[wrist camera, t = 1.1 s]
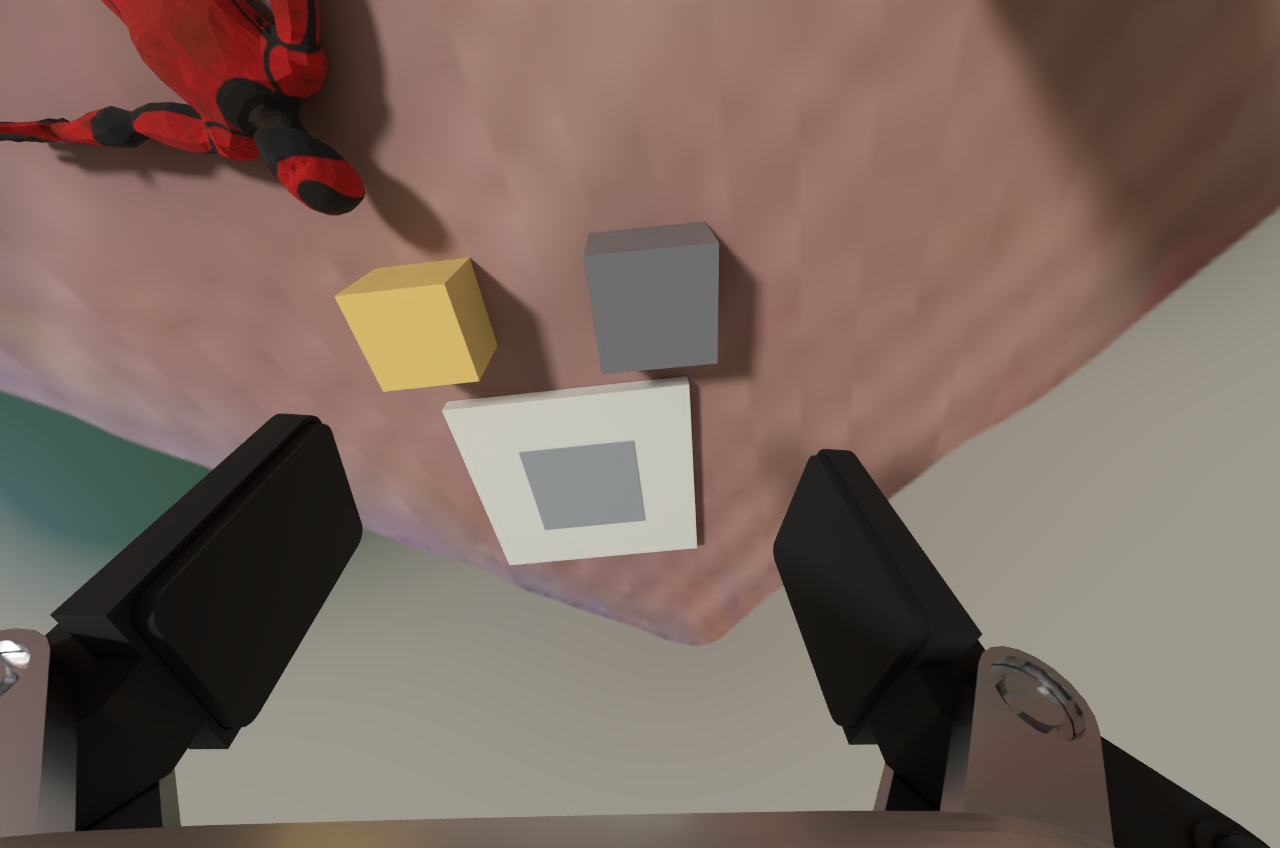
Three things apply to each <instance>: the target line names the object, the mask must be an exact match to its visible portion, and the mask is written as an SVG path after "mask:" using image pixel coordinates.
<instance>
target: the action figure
mask: <svg viewBox="0 0 1280 848" xmlns="http://www.w3.org/2000/svg"><path fill="white" fill-rule="evenodd" d="M269 1H270V4H271V8H272V11H273V14H274V18H275V24H276V25H275V24H273V23H271V22H269V21H268V20H266V19H264V18H263V17H262V16H261V15H260V14H259V13H258V12H257V11H256V10H254V9H253V8H252V7H251V6H250V5H249V4H248V3H247V2H246V1H245V0H102V2H103V3H104V4H105V5H106V6H107V7H108V8H109V9H110V10H112V11H113V12H114V13H115V14H116V15H117V16H118V17H119V18H120V19H121V20H122V21H123V22H124V23H125V24H126V25H127V27H128V29H129V32H130V37H131V40H132V42H133V43H134V45H135V47H136V49H137V51H138V52H139V54H140V56H141V58H142V60H143V61H144V62H145V63H146V64H147V66H148V67H149V68H150V69H151V70H152V71H153V72H154V73H155V74H156V75H157V76H158V77H159V79H160V80H162V81H163V82H164V83H165V84H166V85H167V86H169V87H170V88H171V89H172V90H173V91H174V92H176V93H177V94H178V95H179V96H180V97H181V98H183V99H184V100H185V101H186V102H187V103H188V104H189V105H187V104H180V103H174V102H165V103H148V104H146V105H144V106H142V107H139V108H137V109H135V110H134V111H131V112H130V111H126V110H123V109H120V108H117V107H113V106H110V107H106V108H103V109H99V110H96V111H92V112H88V113H86V114H85V115H83V116H82V117H80V118H78V119H76V120H74V121H72V122H69V121H68V120H66V119H64V118H60V119H49V118H48V119H44V120H40V121H34V122H20V123H16V122H0V141H4V140H9V141H15V142H23V141H29V142H41V143H44V142H57V141H64V142H75V143H85V144H91V145H97V146H107V147H137V146H139V145H140V144H142V143H143V142H144V141H146V140H147V139H149V138H152V139H154V140H156V141H159V142H161V143H163V144H165V145H167V146H171V147H174V148H178V149H182V150H185V151H189V152H194V153H207V154H219V155H221V156H224V157H227V158H229V159H232V160H240V161H244V160H254V159H255V158H256V157H258V156H259V155H260V154H261V155H262V157H263V158H264V160H265V162H266V164H267V166H268V168H269V169H270V171H271V172H272V174H273V175H274V176H275V177H276V178H277V179H278V180H279V181H280V182H281V183H282V184H283V185H284V186H285V187H286V188H287V189H288V191H289V192H290V193H291V194H292V195H293V196H295V197H296V198H297V199H298V200H300V201H301V202H302V203H304V204H305V205H306V206H307V207H308V208H310V209H313V210H315V211H318V212H321V213H324V214H327V215H341V214H345V213H348V212H350V211H352V210H353V209H354V208H356V207H357V206H358V205H359V203H360V202H361V201H362V200H363V199H364V196H365V188H364V186H363V183H362V180H361V177H360V175H359V174H358V173H357V171H356V170H355V169H354V168H353V167H352V166H351V165H350V164H349V163H348V162H347V161H346V160H345V159H344V158H343V157H342V156H341V155H339V154H338V153H337V152H336V151H335V150H333V149H332V148H330V147H329V146H327V145H326V144H324V143H323V142H321V141H320V140H318V139H316V138H313V137H312V136H311V135H310V134H309V133H308V132H307V131H306V129H305V128H304V127H303V125H302V123H301V121H300V120H299V113H298V112H299V109H300V106H301V104H302V102H303V100H304V98H306V97H308V96H310V95H311V94H313V93H315V92H317V91H318V90H320V89H321V87H322V84H323V82H324V79H325V76H326V71H327V67H328V64H327V60H326V55H325V52H324V50H323V47H322V45H321V43H320V25H319V7H318V1H317V0H269Z"/></svg>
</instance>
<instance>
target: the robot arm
mask: <svg viewBox="0 0 1280 848" xmlns="http://www.w3.org/2000/svg"><path fill="white" fill-rule="evenodd" d="M361 537H362V523H361V520H360V517H359V514H358V511H357V508H356V504H355V501H354V498H353V495H352V492H351V489H350V486H349V483H348V480H347V477H346V474H345V470H344V467H343V464H342V461H341V458H340V455H339V452H338V449H337V446H336V443H335V440H334V437H333V433H332V431H331V429H330V427H329V426H328V425H326V424H322V422H321V420H320V419H319V418H318V417H316V416H312V415H297V414H276V415H275V416H273V417H272V418H271V419H269V420H268V421H267V422H266V423H265V424H264V425H263V426H262V427H260V428H259V429H258V430H257V431H256V432H255V433H254V434H253V435H251V436H250V437H249V438H248V439H247V440H246V441H245V442H244V443H243V444H241V445H240V446H239V447H238V448H237V449H236V450H235V451H234V452H232V453H231V454H230V455H229V456H228V457H227V458H226V459H225V460H223V461H222V462H221V463H220V464H219V465H218V466H217V467H216V468H214V469H213V470H212V471H211V472H210V473H209V474H208V475H207V476H205V477H204V478H203V479H202V480H201V481H200V482H199V483H198V484H196V485H195V486H194V487H193V488H192V489H191V490H190V491H189V492H188V493H186V494H185V495H184V496H183V497H182V498H181V499H180V500H179V501H178V502H176V503H175V504H174V505H173V506H172V507H171V508H170V509H168V510H167V511H166V512H165V513H164V514H163V515H162V516H161V517H160V518H158V519H157V520H156V521H155V522H154V523H153V524H152V525H151V526H149V527H148V528H147V529H146V530H145V531H144V532H143V533H142V534H140V535H139V536H138V537H137V538H136V539H135V540H134V541H132V542H131V543H130V544H129V545H128V546H127V547H126V548H125V549H123V550H122V551H121V552H120V553H119V554H118V555H117V556H116V557H115V558H113V559H112V560H111V561H110V562H109V563H108V564H107V565H106V566H104V568H102V569H101V570H100V571H99V572H98V573H97V574H96V575H94V576H93V577H92V578H91V579H90V580H89V581H88V582H86V583H85V584H84V585H83V586H82V587H81V588H80V589H79V590H78V591H76V592H75V593H74V594H73V595H72V596H71V597H70V598H68V599H67V600H66V601H65V602H64V603H63V604H62V605H61V606H60V607H58V608H57V609H56V610H55V611H54V612H53V613H52V614H51V616H52V617H53V618H54V619H55V620H56V621H57V622H58V624H57V625H56V626H55V627H54V628H53V629H52V630H51V631H50V632H49V633H47V634H46V635H45V636H44V635H42V634H40V633H39V632H37V631H36V630H28V629H17V628H15V629H8V630H1V631H0V848H1270V847H1269V846H1268V845H1267V844H1266V843H1264V842H1263V841H1262V840H1260V839H1259V838H1258V837H1256V836H1255V835H1253V834H1252V833H1251V832H1249V831H1248V830H1246V829H1245V828H1244V827H1242V826H1241V825H1240V824H1238V823H1236V822H1235V821H1233V820H1232V819H1230V818H1229V817H1227V816H1225V815H1224V814H1222V813H1220V812H1219V811H1218V810H1216V809H1214V808H1213V807H1211V806H1210V805H1208V804H1207V803H1205V802H1203V801H1202V800H1200V799H1199V798H1197V797H1196V796H1194V795H1192V794H1191V793H1189V792H1188V791H1186V790H1185V789H1183V788H1181V787H1180V786H1178V785H1177V784H1175V783H1174V782H1172V781H1170V780H1169V779H1167V778H1165V777H1164V776H1162V775H1161V774H1159V773H1158V772H1156V771H1155V770H1153V769H1152V768H1150V767H1148V766H1147V765H1145V764H1144V763H1142V762H1141V761H1139V760H1137V759H1136V758H1134V757H1133V756H1131V755H1130V754H1128V753H1126V752H1125V751H1123V750H1122V749H1120V748H1119V747H1117V746H1115V745H1114V744H1112V743H1111V742H1109V741H1108V740H1106V739H1104V738H1103V737H1101V736H1100V731H1099V728H1098V724H1097V721H1096V718H1095V716H1094V714H1093V712H1092V711H1091V709H1090V708H1089V706H1088V704H1087V702H1086V701H1085V699H1084V698H1083V697H1082V696H1081V695H1080V694H1079V693H1078V691H1077V690H1076V689H1075V688H1074V687H1073V686H1072V684H1071V683H1070V682H1069V681H1067V680H1066V679H1065V678H1064V677H1063V676H1061V675H1060V674H1059V673H1058V672H1057V671H1056V670H1055V669H1053V668H1052V667H1050V666H1049V665H1047V664H1046V663H1044V662H1042V661H1041V660H1039V659H1038V658H1036V657H1034V656H1032V655H1030V654H1028V653H1025V652H1023V651H1021V650H1019V649H1014V648H1010V647H1005V646H999V647H991V648H989V649H987V650H986V651H985V649H984V648H983V646H982V645H981V644H980V642H979V641H978V638H979V637H980V636H981V635H982V633H981V632H980V630H979V629H978V627H977V626H976V625H975V623H974V622H973V620H972V619H971V618H970V616H969V615H968V613H967V612H966V610H965V609H964V608H963V606H962V605H961V603H960V602H959V601H958V599H957V598H956V596H955V595H954V594H953V592H952V591H951V589H950V588H949V587H948V585H947V584H946V582H945V581H944V579H943V578H942V577H941V575H940V574H939V572H938V571H937V570H936V568H935V567H934V565H933V564H932V562H931V561H930V560H929V558H928V557H927V555H926V554H925V553H924V551H923V550H922V548H921V547H920V546H919V544H918V543H917V541H916V540H915V539H914V537H913V536H912V534H911V533H910V531H909V530H908V529H907V527H906V526H905V524H904V523H903V522H902V520H901V519H900V517H899V516H898V515H897V513H896V512H895V510H894V509H893V507H892V506H891V505H890V503H889V502H888V500H887V499H886V498H885V496H884V495H883V493H882V492H881V490H880V489H879V488H878V486H877V485H876V483H875V482H874V481H873V479H872V478H871V476H870V475H869V474H868V472H867V471H866V469H865V468H864V467H863V465H862V464H861V462H860V461H859V459H858V458H857V457H856V455H855V454H854V453H853V452H851V451H848V450H832V449H822V450H820V451H819V452H818V453H817V455H813V456H811V457H810V458H809V460H808V462H807V464H806V467H805V469H804V472H803V474H802V476H801V479H800V481H799V484H798V486H797V489H796V491H795V493H794V496H793V498H792V501H791V503H790V505H789V508H788V510H787V513H786V515H785V518H784V520H783V522H782V525H781V527H780V530H779V532H778V534H777V537H776V539H775V542H774V546H773V554H774V559H775V562H776V565H777V568H778V571H779V573H780V576H781V579H782V582H783V585H784V587H785V590H786V593H787V596H788V598H789V601H790V604H791V607H792V609H793V612H794V615H795V617H796V621H797V623H798V626H799V629H800V631H801V634H802V637H803V640H804V642H805V645H806V648H807V651H808V654H809V656H810V659H811V662H812V665H813V668H814V670H815V673H816V676H817V679H818V681H819V684H820V687H821V690H822V692H823V695H824V698H825V700H826V703H827V706H828V709H829V712H830V714H831V716H832V719H833V720H834V722H835V723H836V724H837V725H839V726H842V727H843V730H844V733H845V735H846V738H847V741H848V743H849V745H857V744H858V745H859V744H861V745H862V744H878V746H879V748H880V751H881V753H882V756H883V758H884V760H885V765H884V769H883V773H882V777H881V781H880V785H879V789H878V793H877V797H876V801H875V805H874V810H873V811H801V812H800V811H798V812H744V813H743V812H742V813H691V814H690V813H689V814H688V813H687V814H640V815H639V814H638V815H592V816H552V817H550V816H549V817H548V816H547V817H505V818H463V819H421V820H420V819H419V820H386V821H385V820H384V821H350V822H349V821H347V822H312V823H276V824H239V825H205V826H184V827H183V826H182V827H181V822H180V813H179V804H178V795H177V786H176V777H175V766H176V765H177V763H178V762H179V760H180V759H181V757H182V756H183V754H184V753H185V751H186V750H187V748H189V749H228V748H229V747H230V745H231V743H232V742H233V740H234V738H235V737H236V735H237V734H238V732H239V730H240V729H241V727H246V726H247V725H249V724H250V723H251V722H252V721H253V720H254V719H255V718H256V717H257V715H258V714H259V712H260V711H261V709H262V707H263V705H264V704H265V702H266V701H267V699H268V697H269V695H270V694H271V692H272V690H273V689H274V687H275V685H276V684H277V682H278V680H279V679H280V677H281V675H282V673H283V672H284V670H285V668H286V667H287V665H288V663H289V661H290V660H291V658H292V656H293V655H294V653H295V651H296V650H297V648H298V646H299V645H300V643H301V641H302V639H303V638H304V636H305V634H306V633H307V631H308V629H309V628H310V626H311V624H312V623H313V621H314V619H315V618H316V616H317V614H318V612H319V611H320V609H321V607H322V606H323V604H324V602H325V601H326V599H327V597H328V596H329V594H330V592H331V590H332V589H333V587H334V585H335V584H336V582H337V580H338V579H339V577H340V575H341V574H342V572H343V570H344V568H345V567H346V565H347V563H348V562H349V560H350V558H351V557H352V555H353V553H354V552H355V550H356V548H357V546H358V545H359V543H360V540H361Z"/></svg>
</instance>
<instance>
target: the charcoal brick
mask: <svg viewBox="0 0 1280 848" xmlns="http://www.w3.org/2000/svg"><path fill="white" fill-rule="evenodd" d="M584 262H585V268H586V275H587V281H588V287H589V294H590V300H591V306H592V313H593V319H594V326H595V332H596V338H597V345H598V351H599V357H600V364H601V370H602V374H609V373H620V372H631V371H642V370H653V369H664V368H674V367H685V366H696V365H707V364H718V291H719V242H718V240H717V239H716V237H715V236H714V234H713V232H712V231H711V229H710V228H709V226H708V225H707V223H706V222H698V223H688V224H678V225H668V226H658V227H648V228H639V229H629V230H619V231H609V232H599V233H589V237H588V241H587V245H586V249H585V252H584Z"/></svg>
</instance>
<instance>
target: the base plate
mask: <svg viewBox="0 0 1280 848" xmlns="http://www.w3.org/2000/svg"><path fill="white" fill-rule="evenodd" d="M442 412H443V414H444V416H445V418H446V421H447V423H448V425H449V428H450V430H451V432H452V434H453V437H454V439H455V441H456V444H457V446H458V448H459V450H460V453H461V455H462V457H463V460H464V462H465V464H466V466H467V469H468V471H469V473H470V476H471V478H472V480H473V483H474V485H475V487H476V489H477V492H478V494H479V496H480V499H481V501H482V503H483V505H484V508H485V510H486V512H487V515H488V517H489V519H490V521H491V524H492V526H493V528H494V531H495V533H496V535H497V537H498V540H499V542H500V544H501V547H502V549H503V551H504V553H505V556H506V558H507V560H508V563H509V565H517V564H528V563H539V562H549V561H560V560H571V559H582V558H593V557H604V556H615V555H626V554H636V553H647V552H658V551H669V550H680V549H691V548H697V535H696V514H695V494H694V473H693V453H692V433H691V412H690V392H689V382H688V377H687V376H684V377H674V378H665V379H655V380H646V381H637V382H627V383H618V384H608V385H599V386H590V387H580V388H571V389H561V390H552V391H543V392H533V393H524V394H515V395H505V396H496V397H486V398H477V399H468V400H458V401H449V402H447V403H446V405H445V406H444V408H443V410H442Z"/></svg>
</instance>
